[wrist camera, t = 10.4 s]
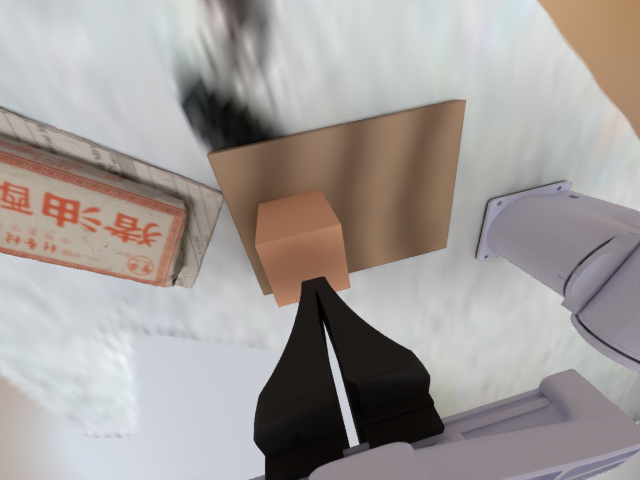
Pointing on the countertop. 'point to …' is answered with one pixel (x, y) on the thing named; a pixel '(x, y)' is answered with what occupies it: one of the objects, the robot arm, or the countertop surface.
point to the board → (355, 181)
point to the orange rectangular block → (300, 244)
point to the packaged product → (99, 207)
